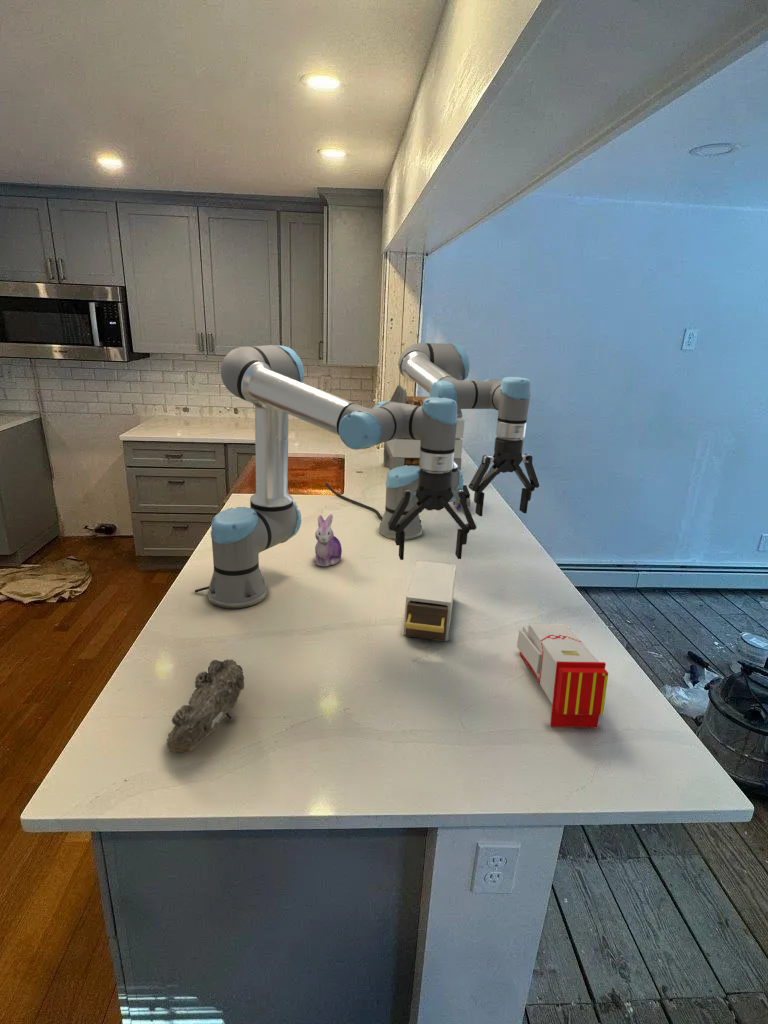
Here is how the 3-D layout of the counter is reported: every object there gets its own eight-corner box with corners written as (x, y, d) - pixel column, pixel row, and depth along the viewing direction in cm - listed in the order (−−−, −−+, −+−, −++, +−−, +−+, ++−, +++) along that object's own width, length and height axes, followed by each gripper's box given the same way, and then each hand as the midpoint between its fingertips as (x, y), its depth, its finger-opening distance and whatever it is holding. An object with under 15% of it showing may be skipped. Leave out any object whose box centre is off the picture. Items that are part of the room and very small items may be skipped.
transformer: (382, 463, 289) (386, 382, 275) (445, 464, 293) (451, 384, 279) (390, 482, 257) (394, 392, 243) (460, 483, 261) (468, 394, 247)
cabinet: (447, 640, 137) (451, 602, 133) (403, 634, 138) (406, 596, 135) (453, 599, 156) (456, 564, 153) (414, 594, 158) (416, 560, 154)
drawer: (443, 655, 129) (446, 622, 126) (401, 649, 131) (403, 616, 128) (450, 601, 153) (453, 572, 150) (415, 597, 155) (417, 568, 152)
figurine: (319, 569, 170) (319, 523, 165) (307, 556, 178) (307, 511, 173) (348, 564, 174) (349, 519, 169) (335, 552, 182) (336, 508, 177)
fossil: (192, 660, 117) (244, 628, 112) (224, 691, 120) (276, 661, 115) (142, 746, 98) (202, 712, 93) (182, 779, 101) (242, 748, 96)
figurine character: (470, 515, 225) (465, 499, 238) (472, 498, 221) (467, 483, 235) (453, 515, 224) (449, 499, 238) (455, 497, 221) (451, 482, 234)
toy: (562, 608, 134) (617, 669, 105) (557, 660, 137) (609, 734, 107) (511, 607, 134) (552, 667, 104) (507, 659, 136) (545, 733, 107)
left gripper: (381, 473, 120) (378, 564, 127) (495, 474, 123) (486, 563, 130) (378, 464, 127) (375, 551, 134) (486, 465, 130) (477, 550, 137)
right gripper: (472, 441, 143) (465, 520, 150) (559, 439, 150) (547, 515, 157) (460, 435, 149) (454, 511, 157) (543, 433, 156) (533, 506, 164)
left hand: (429, 557), depth 132 cm, fingers open, 13 cm apart
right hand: (501, 513), depth 157 cm, fingers open, 13 cm apart
